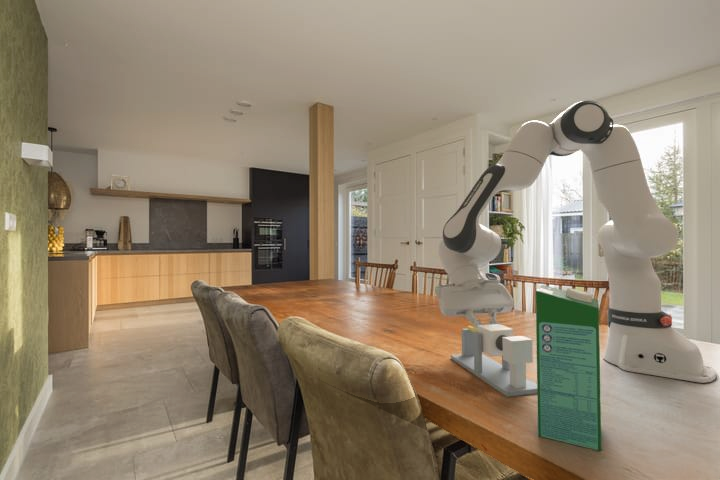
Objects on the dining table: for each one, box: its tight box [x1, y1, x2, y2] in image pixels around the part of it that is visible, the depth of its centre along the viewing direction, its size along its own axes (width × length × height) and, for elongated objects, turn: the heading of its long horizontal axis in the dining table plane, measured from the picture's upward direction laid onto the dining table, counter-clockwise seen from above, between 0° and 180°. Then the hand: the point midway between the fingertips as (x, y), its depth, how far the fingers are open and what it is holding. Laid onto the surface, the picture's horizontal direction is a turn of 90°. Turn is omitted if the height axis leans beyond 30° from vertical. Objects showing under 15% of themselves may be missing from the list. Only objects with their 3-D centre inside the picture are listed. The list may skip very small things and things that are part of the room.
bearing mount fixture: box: [450, 325, 537, 398], centre depth 92 cm, size 26×9×12 cm, turn 12°
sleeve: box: [477, 323, 514, 357], centre depth 90 cm, size 6×6×6 cm
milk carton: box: [535, 284, 602, 452], centre depth 64 cm, size 9×9×25 cm
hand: (486, 326), depth 93 cm, fingers closed on sleeve, 3 cm apart
